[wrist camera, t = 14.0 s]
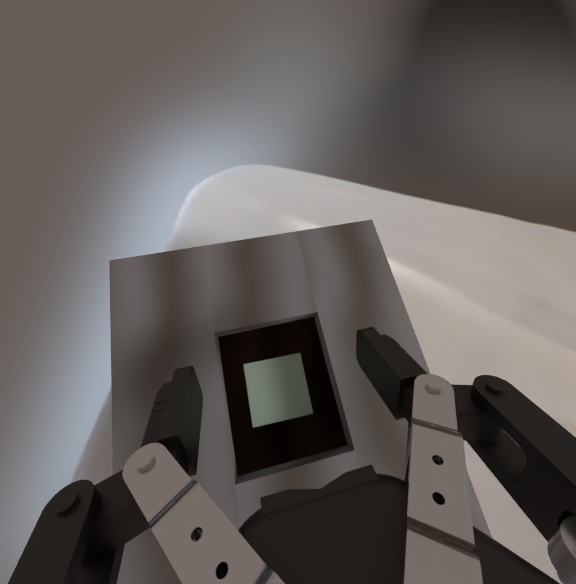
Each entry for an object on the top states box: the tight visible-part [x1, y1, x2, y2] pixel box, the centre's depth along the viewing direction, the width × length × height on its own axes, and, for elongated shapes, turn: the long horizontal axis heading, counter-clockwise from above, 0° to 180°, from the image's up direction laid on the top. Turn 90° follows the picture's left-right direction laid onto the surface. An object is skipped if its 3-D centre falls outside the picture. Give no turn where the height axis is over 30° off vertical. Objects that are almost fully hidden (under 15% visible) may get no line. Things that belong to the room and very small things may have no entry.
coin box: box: [110, 220, 492, 584], centre depth 24 cm, size 20×22×16 cm
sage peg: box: [243, 353, 313, 428], centre depth 25 cm, size 4×4×12 cm
